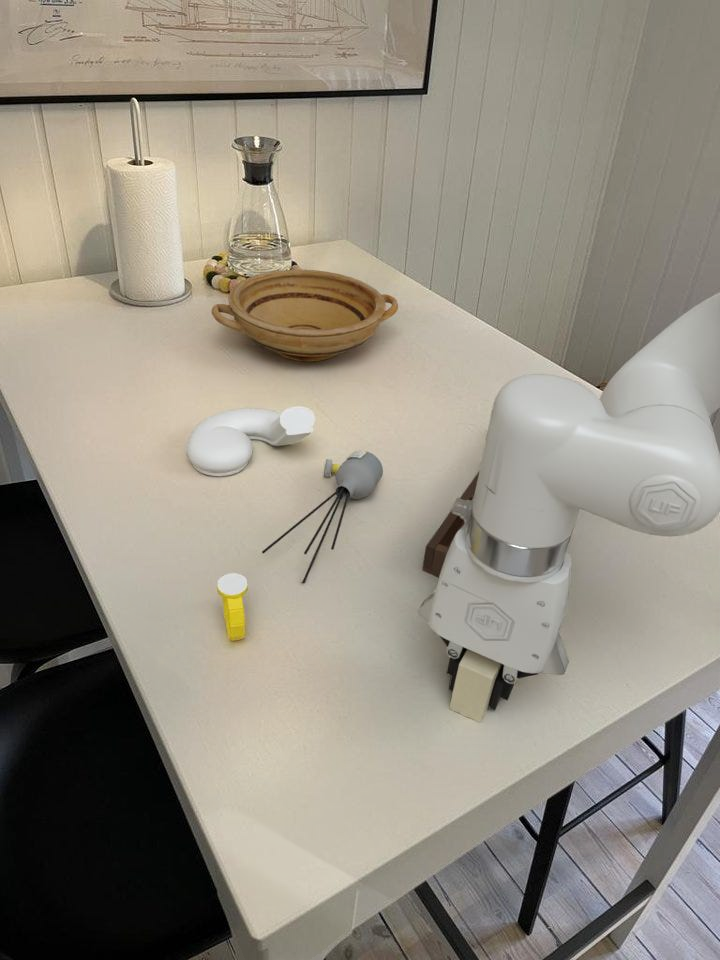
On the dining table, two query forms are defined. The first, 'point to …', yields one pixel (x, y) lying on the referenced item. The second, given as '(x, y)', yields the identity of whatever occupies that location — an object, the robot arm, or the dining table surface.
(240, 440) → the sculpture
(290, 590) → the dining table surface
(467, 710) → the cream rectangular block
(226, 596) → the watch
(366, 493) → the reed diffuser
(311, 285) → the ceramic bowl
